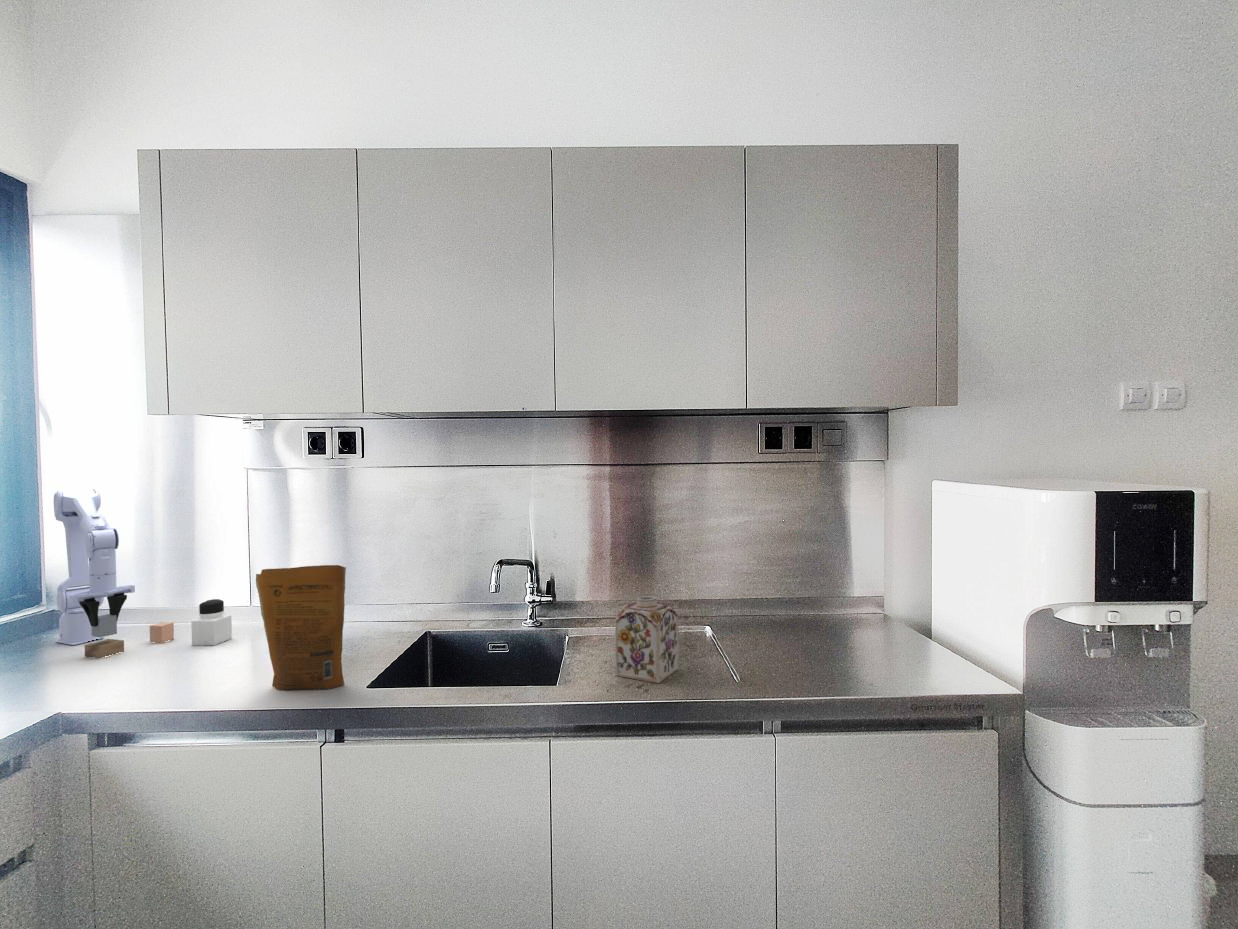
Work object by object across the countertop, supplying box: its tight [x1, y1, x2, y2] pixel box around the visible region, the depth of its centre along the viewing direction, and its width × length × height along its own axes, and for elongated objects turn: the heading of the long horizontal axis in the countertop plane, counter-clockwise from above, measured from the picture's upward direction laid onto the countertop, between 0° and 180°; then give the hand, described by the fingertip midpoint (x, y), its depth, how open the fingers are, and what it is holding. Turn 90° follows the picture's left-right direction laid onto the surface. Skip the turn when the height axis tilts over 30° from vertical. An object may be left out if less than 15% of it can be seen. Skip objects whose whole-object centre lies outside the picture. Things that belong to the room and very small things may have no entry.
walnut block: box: [84, 638, 125, 659], centre depth 174 cm, size 6×6×4 cm
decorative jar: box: [614, 595, 680, 684], centre depth 153 cm, size 12×12×18 cm
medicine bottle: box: [190, 598, 233, 646], centre depth 185 cm, size 7×7×12 cm
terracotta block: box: [149, 621, 175, 644], centre depth 187 cm, size 4×4×5 cm
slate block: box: [91, 613, 118, 638], centre depth 174 cm, size 4×4×5 cm
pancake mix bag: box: [255, 564, 347, 691], centre depth 146 cm, size 7×19×28 cm, turn 91°
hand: (104, 624), depth 174 cm, fingers closed on slate block, 4 cm apart
